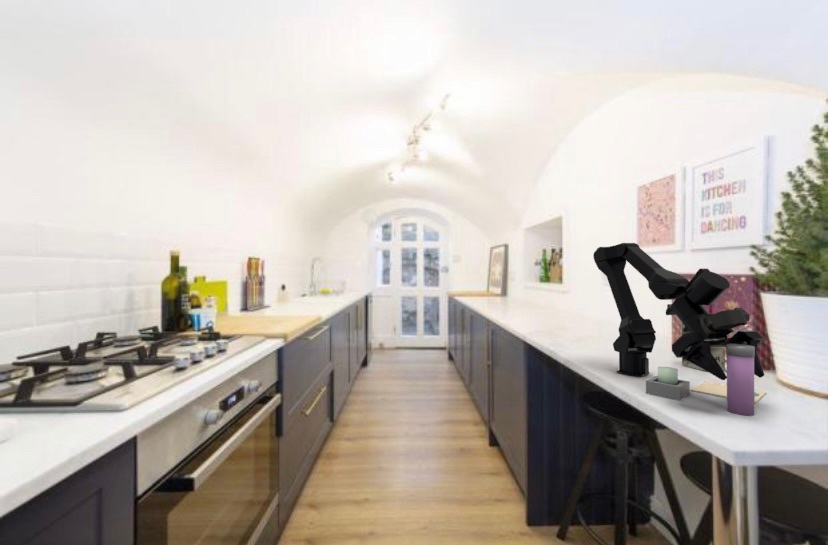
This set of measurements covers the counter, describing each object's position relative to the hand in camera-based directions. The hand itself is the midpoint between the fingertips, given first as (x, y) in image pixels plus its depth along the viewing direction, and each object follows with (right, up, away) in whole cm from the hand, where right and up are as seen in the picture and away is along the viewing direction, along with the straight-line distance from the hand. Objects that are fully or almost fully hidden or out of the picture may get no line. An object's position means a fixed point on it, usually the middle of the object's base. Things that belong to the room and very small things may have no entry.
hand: (743, 377), depth 80 cm
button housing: (-7, -7, +13) cm, 17 cm away
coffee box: (+19, -7, +36) cm, 42 cm away
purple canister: (0, -7, +1) cm, 7 cm away
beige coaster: (+8, -7, +13) cm, 17 cm away
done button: (-7, -5, +13) cm, 16 cm away
